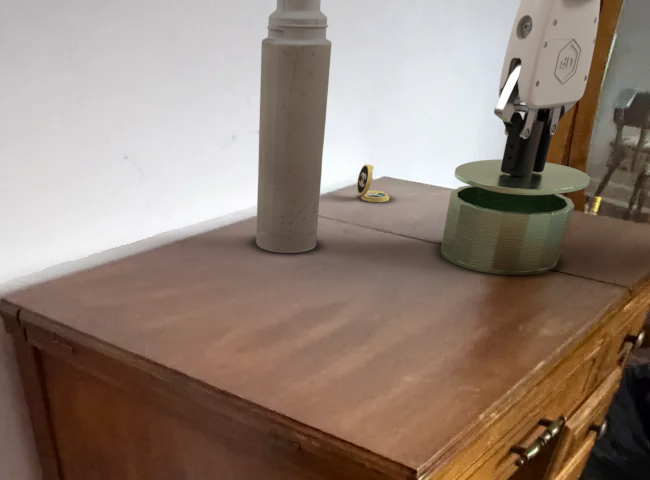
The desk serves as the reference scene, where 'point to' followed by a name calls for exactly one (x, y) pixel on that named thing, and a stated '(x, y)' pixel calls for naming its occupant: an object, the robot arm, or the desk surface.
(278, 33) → the thermos bottle
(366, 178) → the eyeshadow
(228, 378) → the desk surface
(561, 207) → the tin
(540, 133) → the lid
